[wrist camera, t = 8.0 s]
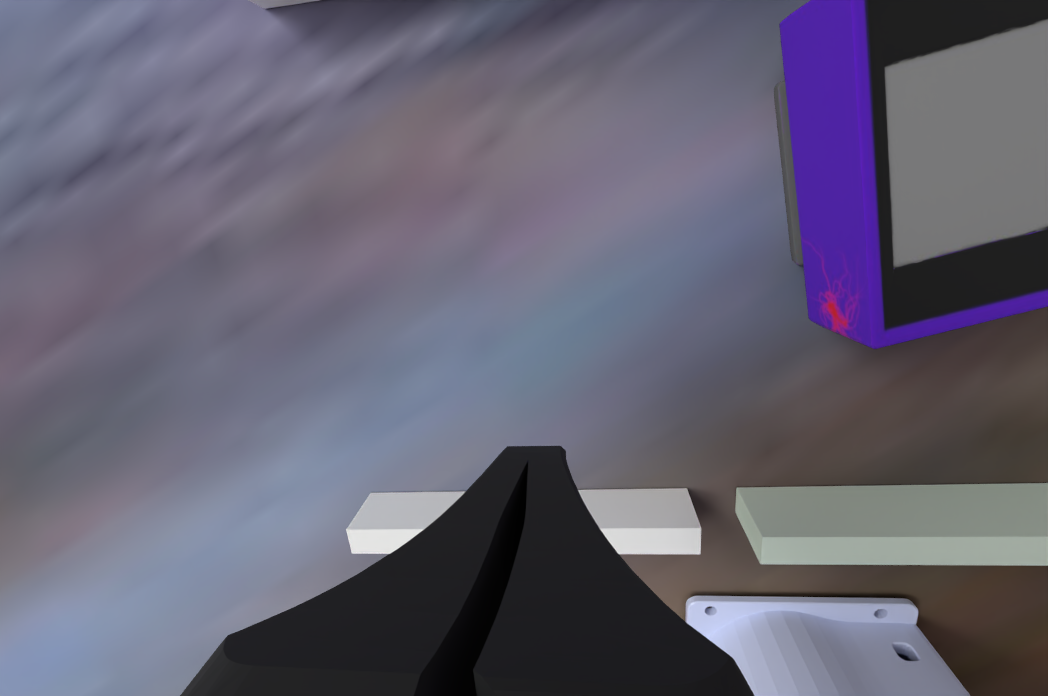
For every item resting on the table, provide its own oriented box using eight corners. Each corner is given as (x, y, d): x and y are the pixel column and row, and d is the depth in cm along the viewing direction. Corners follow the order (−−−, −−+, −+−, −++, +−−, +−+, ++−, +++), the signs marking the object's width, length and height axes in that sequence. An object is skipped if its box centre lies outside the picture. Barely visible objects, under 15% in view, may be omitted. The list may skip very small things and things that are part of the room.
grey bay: (698, -107, 14) (722, -165, 12) (686, 511, 21) (700, 554, 18) (254, -34, 16) (198, -72, 14) (375, 514, 23) (352, 553, 20)
